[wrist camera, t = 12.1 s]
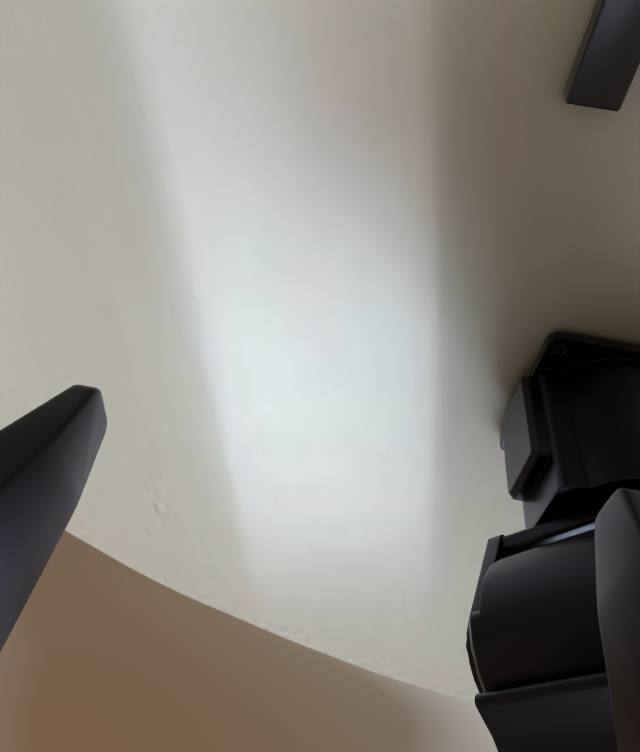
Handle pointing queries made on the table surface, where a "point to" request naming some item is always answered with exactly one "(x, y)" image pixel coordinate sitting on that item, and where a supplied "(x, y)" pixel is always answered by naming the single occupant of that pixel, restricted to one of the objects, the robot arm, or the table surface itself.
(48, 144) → the table surface
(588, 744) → the robot arm
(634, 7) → the fork
